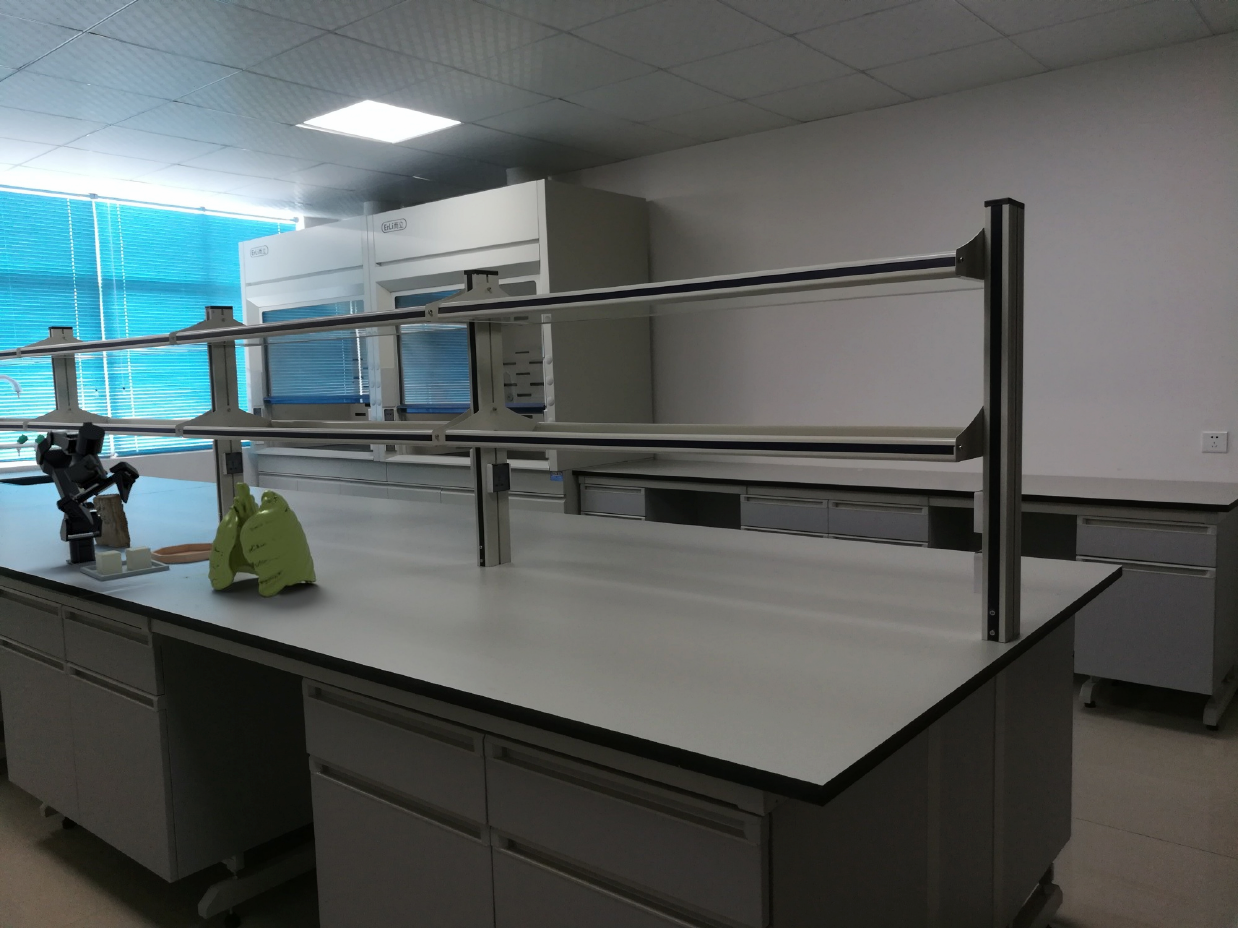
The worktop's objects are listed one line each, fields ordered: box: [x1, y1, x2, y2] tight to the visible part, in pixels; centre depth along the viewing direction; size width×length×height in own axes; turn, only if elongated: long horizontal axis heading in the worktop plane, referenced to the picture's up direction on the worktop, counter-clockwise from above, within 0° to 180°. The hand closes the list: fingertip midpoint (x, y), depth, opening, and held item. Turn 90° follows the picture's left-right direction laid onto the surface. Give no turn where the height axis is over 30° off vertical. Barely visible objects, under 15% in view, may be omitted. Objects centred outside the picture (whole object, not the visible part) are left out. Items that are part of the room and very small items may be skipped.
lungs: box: [207, 482, 317, 598], centre depth 201 cm, size 25×16×24 cm, turn 63°
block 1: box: [95, 550, 123, 575], centre depth 220 cm, size 4×4×5 cm
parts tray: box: [79, 559, 171, 582], centre depth 222 cm, size 17×15×2 cm
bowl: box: [151, 542, 213, 564], centre depth 238 cm, size 16×16×2 cm
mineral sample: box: [92, 492, 131, 549], centre depth 260 cm, size 17×4×15 cm, turn 55°
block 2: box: [124, 545, 152, 571], centre depth 224 cm, size 4×4×5 cm
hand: (108, 513), depth 218 cm, fingers open, 9 cm apart
